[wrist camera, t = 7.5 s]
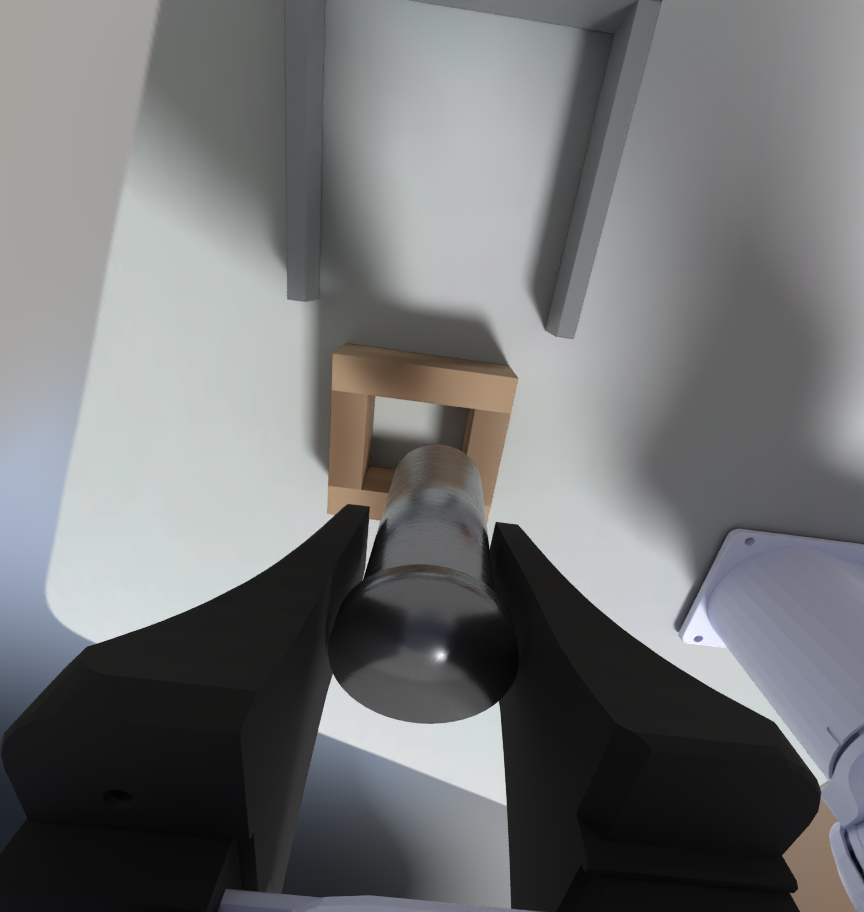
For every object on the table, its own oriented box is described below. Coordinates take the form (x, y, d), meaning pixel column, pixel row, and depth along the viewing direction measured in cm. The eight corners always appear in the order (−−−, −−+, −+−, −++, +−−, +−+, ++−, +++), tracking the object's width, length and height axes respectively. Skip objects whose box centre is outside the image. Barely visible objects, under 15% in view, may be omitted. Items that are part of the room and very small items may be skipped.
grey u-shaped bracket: (640, 9, 14) (669, -29, 12) (560, 332, 18) (573, 339, 17) (304, -46, 14) (284, -95, 12) (303, 296, 18) (287, 299, 16)
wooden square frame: (509, 365, 19) (518, 378, 17) (480, 506, 22) (484, 533, 20) (345, 343, 19) (332, 353, 17) (339, 488, 22) (327, 513, 20)
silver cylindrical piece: (501, 446, 14) (542, 606, 7) (477, 536, 15) (494, 735, 9) (391, 427, 13) (333, 571, 7) (379, 520, 15) (322, 708, 9)
